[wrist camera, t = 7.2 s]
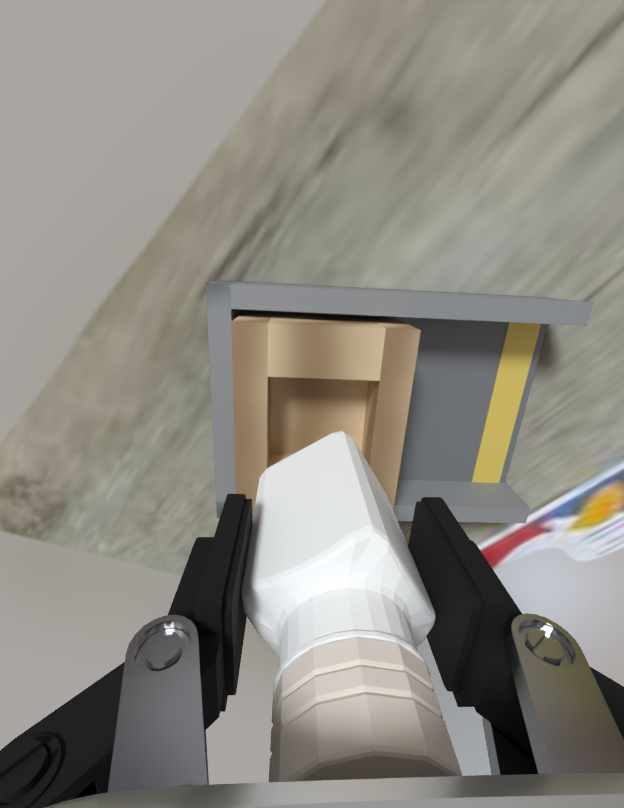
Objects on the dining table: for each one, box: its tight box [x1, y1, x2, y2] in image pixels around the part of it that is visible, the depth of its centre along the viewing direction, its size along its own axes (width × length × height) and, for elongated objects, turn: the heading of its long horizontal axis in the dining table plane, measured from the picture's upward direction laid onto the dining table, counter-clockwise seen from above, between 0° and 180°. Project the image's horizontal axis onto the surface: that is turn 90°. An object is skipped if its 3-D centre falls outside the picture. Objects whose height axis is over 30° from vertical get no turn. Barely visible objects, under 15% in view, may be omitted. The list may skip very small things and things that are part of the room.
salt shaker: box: [241, 431, 462, 782], centre depth 10 cm, size 4×4×10 cm
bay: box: [206, 281, 593, 523], centre depth 23 cm, size 20×14×4 cm
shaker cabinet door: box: [231, 312, 421, 515], centre depth 21 cm, size 9×11×4 cm
